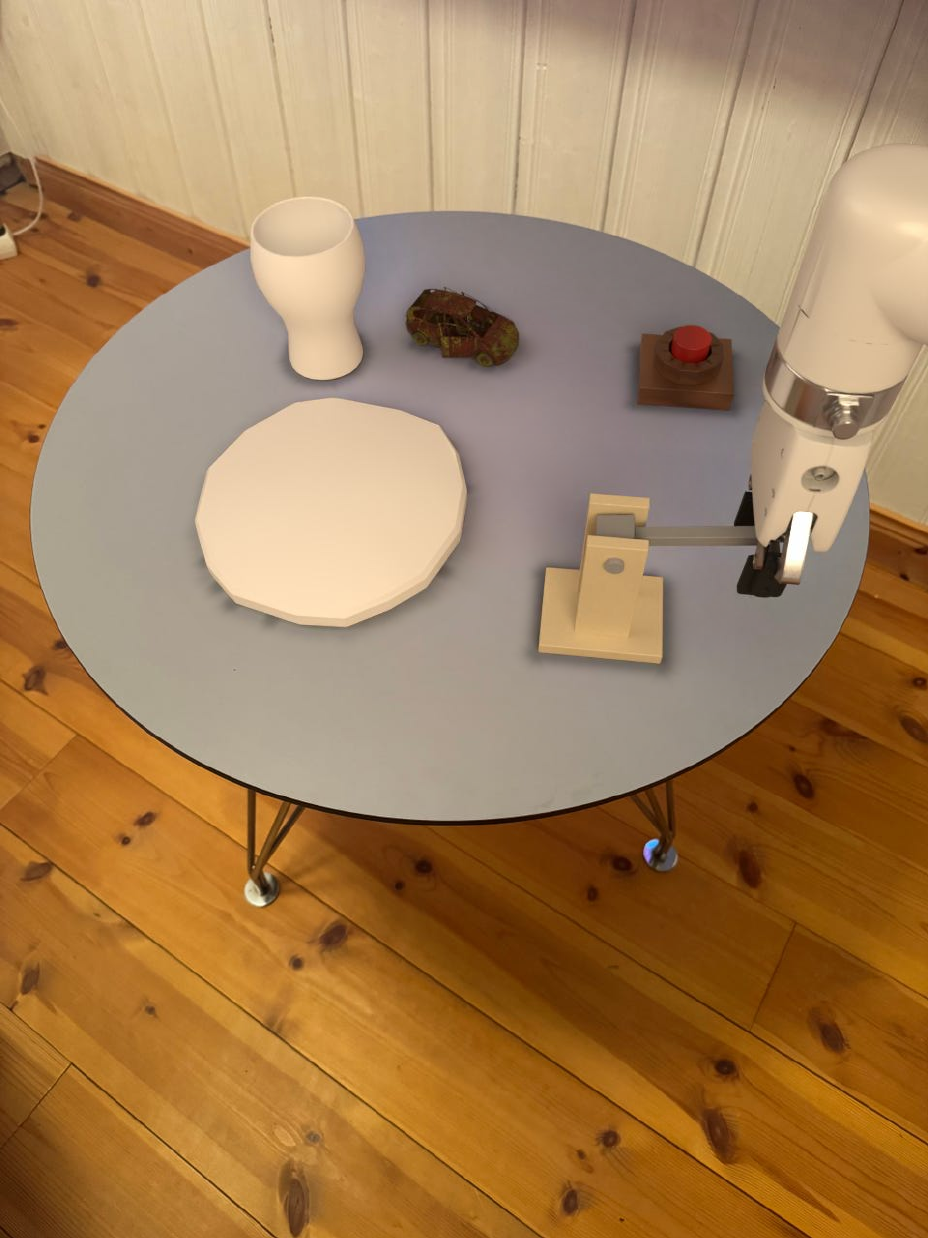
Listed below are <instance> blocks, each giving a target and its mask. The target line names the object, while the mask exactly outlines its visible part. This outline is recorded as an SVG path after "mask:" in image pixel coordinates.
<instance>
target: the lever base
mask: <svg viewBox="0 0 928 1238" xmlns="http://www.w3.org/2000/svg"><path fill="white" fill-rule="evenodd" d="M649 512H650V498H649V497H643V496H630V495H619V494H604V493H593V492H590V493H589V500H588V507H587V514H586V521H585V528H584V537H583V544H582V550H581V558H580V564H579V565H580V566H579V569H574V568H573V569H571V568H563V567H562V568H561V567H549V566H547V567H545V573H544V575H545V577H544V585H543V587H544V588H543V598H542V605H541V606H542V607H541V618H540V628H539V637H538V638H539V639H538V649H537V651H538V653H542V654H552V655H561V656H563V655H564V656H573V657H585V658H594V659H607V660H614V661H615V660H616V661H627V662H628V661H629V662H637V663H648V664H657V665H659V664H661V663H662V659H663V653H664V652H663V651H664V649H663V648H664V643H663V642H664V636H663V635H664V630H663V629H664V577H663V576H654V575H644V573H645V568H646V563H647V559H648V555H649V551H650V546H649V540H642V539H630V538H618V537H606V536H596V525H597V515H635V527H646V526H647V521H648V516H649Z"/></svg>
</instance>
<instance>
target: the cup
mask: <svg viewBox="0 0 928 1238" xmlns="http://www.w3.org/2000/svg"><path fill="white" fill-rule="evenodd" d="M249 254H250V255H249V256H250V264H251V267H252V271H253V275H254V279H255V281H256V284H257V287H258V288H259V290H260V292H262V295H263V296H264V298H265V300H266V301H267V303H268V304H269V305H270V306H271V307H272V309H273V310H274V311H276V313H277V314H278V315H279V316H280V317H281V318H282V320H283V323H284V326H285V327H286V330H287V332H288V333H287V334H288V339H287V340H288V357H289V358H288V360H289V363H290V365H291V368H292V369H293V370H294V371H295V372H296V373H297V374H299V375H301V376H302V377H304V378H308V379H310V380H317V381H328V380H329V381H330V380H335V379H338V378H342V377H344V376H346V375H348V374H350V373H351V372H353V371H354V370H355V369H356V368H358V366H359V365H360V364H361V362H362V360H363V356H364V348H363V344H362V341H361V337H360V334H359V331H358V329H357V326H356V324H355V323H356V322H355V307H356V304H357V301H358V299H359V297H360V295H361V292H362V289H363V284H364V280H365V274H366V268H367V267H366V255H365V248H364V240H363V239H362V236H361V234H360V231H359V228H358V225H357V223H356V221H355V219H354V217H353V215H352V213H351V211H350V210H349V209H348V208H347V207H346V206H345V205H344V204H342V203H340V202H338V201H336V200H334V199H330V198H327V197H323V196H312V195H306V196H295V197H291V198H286V199H282V200H280V201H277V202H275V203H273V204H271V205H269V206H268V207H265V208H264V209H263V210H262V211H260V213H258V215H257V216H256V217H255V218H254V220H253V222H252V224H251V225H250V253H249Z"/></svg>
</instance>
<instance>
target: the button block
mask: <svg viewBox="0 0 928 1238" xmlns="http://www.w3.org/2000/svg"><path fill="white" fill-rule="evenodd" d="M683 326H684V325H682V326H681V325H680V326H678V327H674V328H671V329H668V330H665V331H664V333H662V334H658V333H657V334H656V333H641V337H640V344H639V350H638V377H637V378H638V379H637V405H646V406H660V407H661V406H662V407H673V408H674V407H675V408H687V409H688V408H689V409H690V408H691V409H702V410H703V409H705V410H716V411H717V410H718V411H730V410H731V406H732V403H733V399H734V396H735V383H734V365H733V363H734V362H733V343H732V338H721V337H720V338H719V337H717V336H716V335H715V334H714V333H712V332H711V331H708V332H709V333H710V335H711V344H710V348H709V352H708V356H707V357H706V358H705V359H704V360H703V361H701V362H698V363H685V362H683V361H681V360H678V359H676V358H675V357H674V356H673V354H672V352H671V347H672V342H673V337H674V333H675V332H676V330H677V329H679V328H680V327H683Z"/></svg>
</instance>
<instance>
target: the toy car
mask: <svg viewBox="0 0 928 1238" xmlns="http://www.w3.org/2000/svg"><path fill="white" fill-rule="evenodd" d="M443 288H444V289H437V288H426V289H425V288H424V289H423V290H422V292H421V294H420V295H419V296H418V297H417V298H416V299H415V301H413V303H412V304H411V305H410V306H409V307H408V309H407V310H406V312H405V317H406V319H405V320H406V322H405V326H406V330H407V332H408V333H409V335H410V336H411V337H412V338H413V340H414V342H415V343H416V344H417V345H418V346H420V347H424V346H425V347H426V345H427V344H429V345H430V346H434V347H436V348H440V349H441V355H442V358H443V359H452V358H453V359H454V358H455V359H456V358H457V359H458V358H471V359H473V360H476V361H477V363H478V364H479V365H480V366H482V367H487V368H488V367H491V366H492V364H493V365H494V366H497V367H498V366H501V365H503V364H506V363H507V362H508V361H509V360H511V358H512V357H513V356H514V354H515V353H516V351H517V349H518V348H519V344H520V332H519V329H518V327H516V323H515V322H514V321H513V320H512V319H510V318H508V317H506V316H505V315H502V314H501V313H497V312H495V311H494V310H492V309H490V307H488V306H487V305H486V304H483V302H481V301H480V300H478V299H476V298H474V297H472V296H471V295H469V294H467V293H465V292H463V291H460V293H459V292H457V291H455V290H453V289H450V288H449V287H446V286H443ZM477 303H480V305H482V306H480V305H479V304H477Z"/></svg>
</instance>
